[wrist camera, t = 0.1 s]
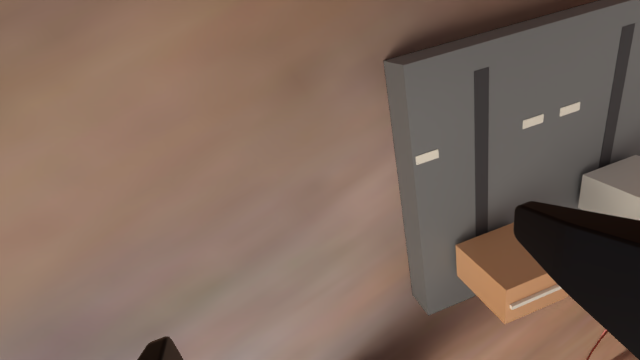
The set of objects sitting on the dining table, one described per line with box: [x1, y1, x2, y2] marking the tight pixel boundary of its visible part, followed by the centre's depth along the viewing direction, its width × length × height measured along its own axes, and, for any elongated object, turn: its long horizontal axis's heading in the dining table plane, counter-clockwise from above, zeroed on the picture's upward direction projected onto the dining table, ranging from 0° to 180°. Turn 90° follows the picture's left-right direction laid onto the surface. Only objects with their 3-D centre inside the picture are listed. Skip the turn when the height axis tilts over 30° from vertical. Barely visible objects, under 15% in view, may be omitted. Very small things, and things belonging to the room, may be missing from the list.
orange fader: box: [456, 223, 569, 324], centre depth 25 cm, size 3×5×5 cm, turn 102°
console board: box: [384, 0, 640, 316], centre depth 27 cm, size 20×20×3 cm
